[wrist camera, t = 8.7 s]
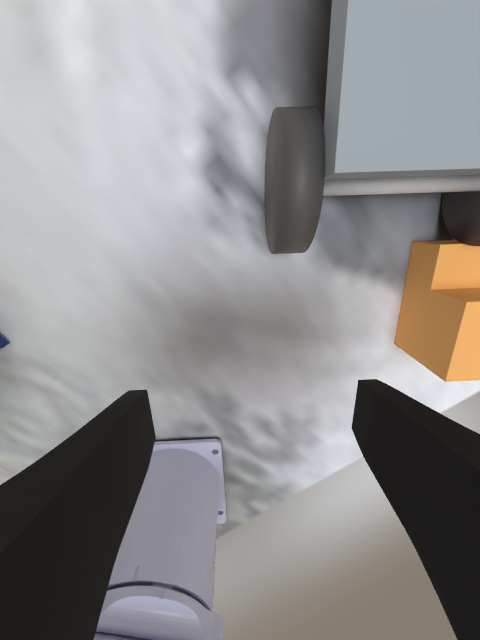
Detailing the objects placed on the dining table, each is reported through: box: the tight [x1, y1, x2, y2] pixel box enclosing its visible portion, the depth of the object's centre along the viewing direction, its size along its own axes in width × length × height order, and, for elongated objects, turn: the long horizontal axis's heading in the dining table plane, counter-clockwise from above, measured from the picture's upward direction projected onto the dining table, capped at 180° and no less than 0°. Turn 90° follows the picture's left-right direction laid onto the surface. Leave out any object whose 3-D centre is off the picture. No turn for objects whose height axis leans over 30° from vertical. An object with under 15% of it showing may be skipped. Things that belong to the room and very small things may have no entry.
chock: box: [394, 240, 480, 382], centre depth 16 cm, size 7×4×5 cm, turn 2°
